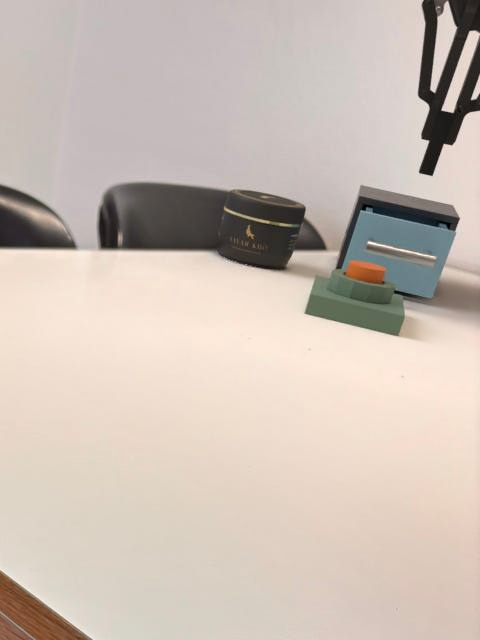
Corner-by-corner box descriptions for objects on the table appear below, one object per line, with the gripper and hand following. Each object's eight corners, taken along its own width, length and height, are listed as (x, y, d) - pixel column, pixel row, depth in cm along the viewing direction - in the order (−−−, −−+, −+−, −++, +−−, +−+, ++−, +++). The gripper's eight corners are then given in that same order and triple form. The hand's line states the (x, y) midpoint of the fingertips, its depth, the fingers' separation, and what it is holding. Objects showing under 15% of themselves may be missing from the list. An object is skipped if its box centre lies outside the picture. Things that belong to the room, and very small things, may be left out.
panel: (397, 336, 113) (411, 298, 111) (304, 314, 115) (316, 276, 113) (395, 314, 123) (408, 279, 121) (310, 294, 125) (321, 259, 123)
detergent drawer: (434, 308, 126) (460, 239, 122) (337, 285, 128) (360, 217, 124) (427, 280, 142) (449, 219, 138) (342, 260, 144) (362, 199, 140)
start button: (381, 289, 115) (386, 272, 114) (344, 280, 116) (349, 263, 115) (380, 282, 118) (386, 266, 118) (345, 274, 119) (350, 258, 118)
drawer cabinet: (431, 295, 138) (460, 218, 133) (334, 272, 140) (359, 195, 135) (426, 277, 150) (453, 205, 145) (337, 256, 152) (360, 184, 147)
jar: (204, 255, 134) (221, 191, 131) (221, 246, 143) (237, 185, 139) (282, 275, 132) (301, 210, 128) (294, 264, 140) (312, 203, 136)
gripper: (448, -85, 109) (368, 164, 121) (581, -62, 106) (485, 189, 118) (444, -76, 115) (369, 159, 127) (569, -54, 113) (480, 183, 125)
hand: (425, 173), depth 123 cm, fingers closed
